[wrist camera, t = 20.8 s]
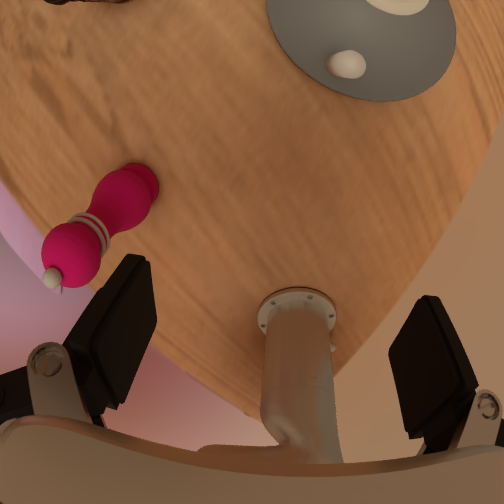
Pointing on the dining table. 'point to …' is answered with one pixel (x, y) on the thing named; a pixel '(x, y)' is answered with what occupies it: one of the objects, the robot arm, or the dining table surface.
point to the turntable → (367, 43)
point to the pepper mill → (97, 226)
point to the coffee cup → (62, 0)
